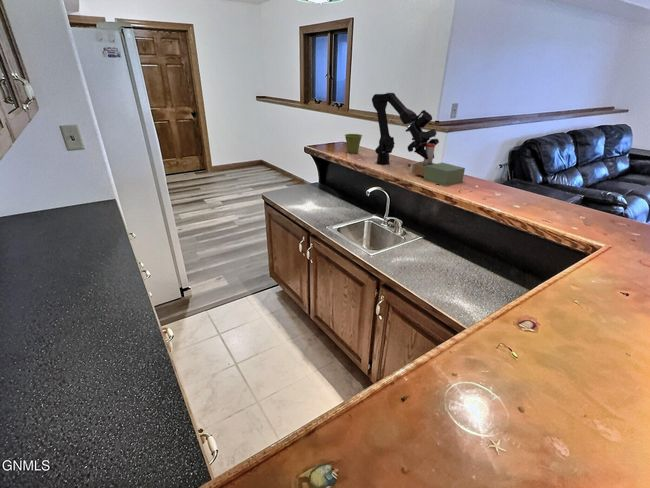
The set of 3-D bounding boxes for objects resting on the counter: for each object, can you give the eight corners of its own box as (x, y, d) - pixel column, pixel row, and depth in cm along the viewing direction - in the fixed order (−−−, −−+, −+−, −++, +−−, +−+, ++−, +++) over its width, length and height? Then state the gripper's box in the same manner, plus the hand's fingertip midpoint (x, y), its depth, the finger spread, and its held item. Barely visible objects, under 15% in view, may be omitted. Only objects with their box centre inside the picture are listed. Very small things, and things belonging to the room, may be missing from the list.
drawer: (403, 171, 189) (404, 161, 187) (418, 168, 196) (420, 159, 193) (427, 178, 177) (429, 168, 175) (443, 175, 183) (445, 165, 181)
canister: (420, 167, 183) (424, 143, 178) (425, 165, 186) (428, 142, 181) (428, 168, 180) (432, 145, 175) (433, 167, 183) (437, 144, 178)
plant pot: (342, 150, 241) (343, 133, 236) (359, 150, 242) (360, 133, 237) (345, 154, 230) (346, 136, 225) (362, 154, 232) (364, 136, 227)
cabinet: (423, 179, 179) (425, 165, 176) (440, 175, 186) (442, 162, 183) (445, 185, 169) (447, 171, 166) (462, 182, 176) (465, 168, 173)
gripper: (415, 124, 172) (429, 151, 169) (439, 122, 182) (453, 147, 178) (401, 138, 181) (414, 164, 178) (425, 135, 191) (438, 160, 188)
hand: (430, 158), depth 180 cm, fingers closed on canister, 4 cm apart
